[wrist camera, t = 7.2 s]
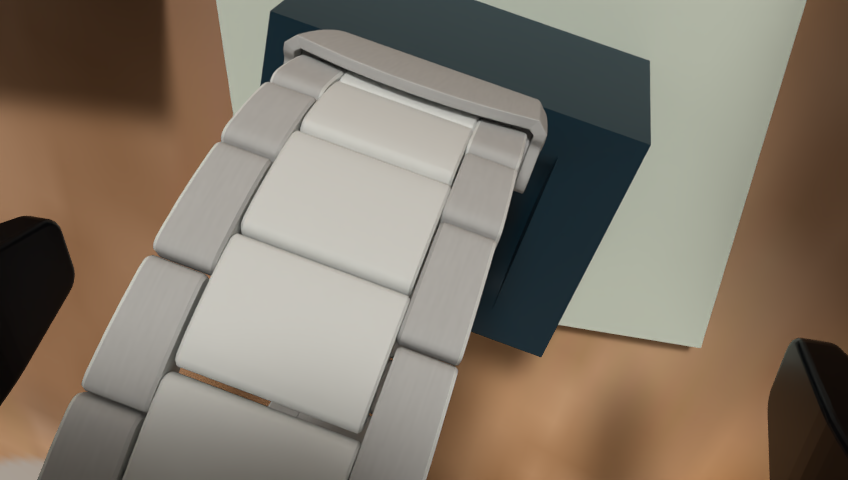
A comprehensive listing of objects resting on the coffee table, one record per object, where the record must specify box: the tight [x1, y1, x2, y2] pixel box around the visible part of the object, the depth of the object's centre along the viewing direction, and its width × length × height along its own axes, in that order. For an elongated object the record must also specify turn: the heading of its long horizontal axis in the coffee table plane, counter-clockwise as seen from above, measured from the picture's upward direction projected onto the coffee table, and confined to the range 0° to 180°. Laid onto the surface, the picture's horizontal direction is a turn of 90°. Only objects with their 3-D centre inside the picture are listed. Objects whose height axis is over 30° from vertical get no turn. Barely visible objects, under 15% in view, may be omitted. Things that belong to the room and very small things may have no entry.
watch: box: [37, 0, 651, 480], centre depth 10 cm, size 6×8×11 cm
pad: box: [216, 0, 807, 348], centre depth 14 cm, size 10×10×1 cm
